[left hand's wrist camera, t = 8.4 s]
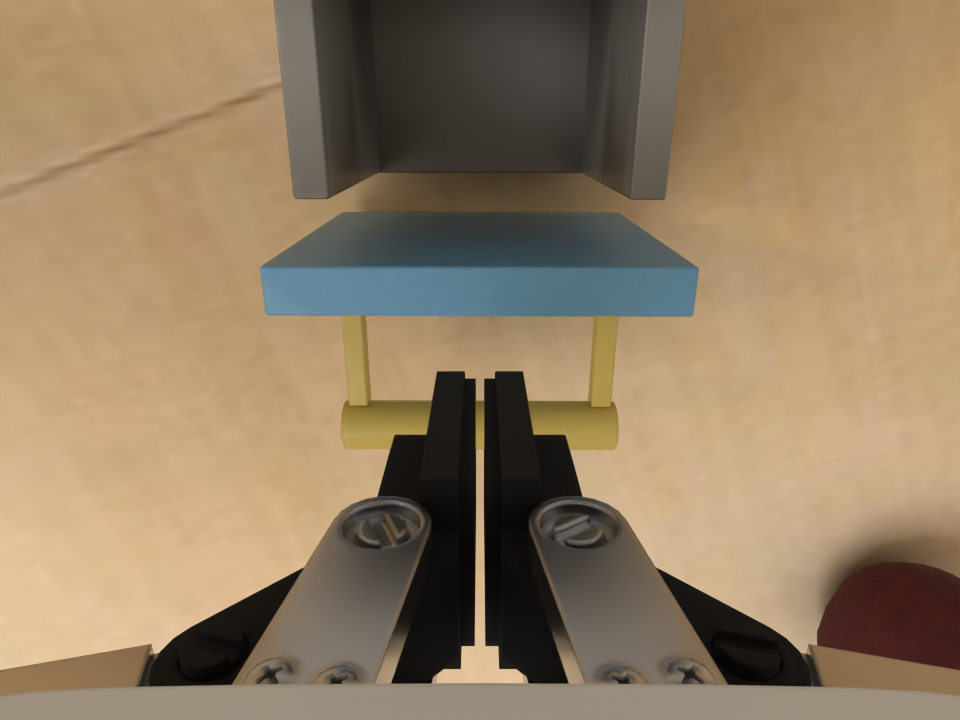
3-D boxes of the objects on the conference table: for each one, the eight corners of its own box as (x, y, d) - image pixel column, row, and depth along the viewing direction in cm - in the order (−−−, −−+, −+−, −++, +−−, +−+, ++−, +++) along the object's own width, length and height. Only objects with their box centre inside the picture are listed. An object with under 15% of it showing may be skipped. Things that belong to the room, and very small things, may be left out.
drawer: (606, 378, 25) (668, 509, 17) (354, 377, 25) (289, 508, 17) (664, -349, 17) (838, -797, 9) (299, -349, 17) (124, -794, 9)
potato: (983, 592, 30) (1124, 725, 23) (847, 681, 32) (941, 827, 25) (893, 502, 28) (1019, 619, 21) (755, 603, 30) (832, 738, 24)
